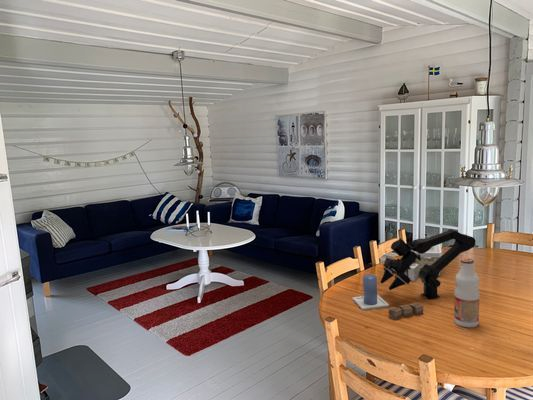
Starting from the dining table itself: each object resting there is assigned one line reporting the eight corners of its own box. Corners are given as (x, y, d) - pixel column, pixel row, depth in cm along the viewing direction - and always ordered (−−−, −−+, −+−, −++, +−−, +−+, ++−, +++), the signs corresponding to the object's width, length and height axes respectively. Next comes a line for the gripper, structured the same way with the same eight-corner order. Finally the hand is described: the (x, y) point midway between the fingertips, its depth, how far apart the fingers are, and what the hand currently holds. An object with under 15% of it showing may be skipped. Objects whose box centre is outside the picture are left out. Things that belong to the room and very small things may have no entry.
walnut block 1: (401, 317, 182) (401, 309, 181) (396, 320, 179) (396, 311, 179) (394, 314, 185) (394, 306, 184) (388, 317, 182) (388, 309, 182)
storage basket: (442, 277, 227) (442, 252, 225) (411, 275, 233) (411, 250, 231) (440, 264, 249) (440, 241, 247) (412, 263, 255) (411, 240, 253)
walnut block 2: (412, 316, 182) (412, 308, 181) (404, 318, 181) (404, 309, 180) (407, 313, 186) (407, 304, 185) (399, 314, 185) (399, 305, 184)
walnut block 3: (423, 314, 184) (423, 305, 183) (416, 316, 182) (416, 307, 182) (416, 310, 187) (416, 302, 187) (409, 312, 186) (409, 304, 185)
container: (414, 281, 224) (414, 258, 222) (400, 279, 228) (400, 256, 226) (418, 277, 230) (418, 254, 228) (405, 274, 234) (404, 253, 233)
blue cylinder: (379, 301, 198) (379, 276, 196) (372, 306, 194) (371, 280, 192) (368, 298, 203) (367, 273, 201) (361, 302, 199) (360, 277, 197)
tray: (377, 296, 206) (377, 294, 206) (389, 307, 193) (389, 304, 193) (352, 299, 204) (352, 297, 204) (362, 310, 191) (362, 308, 191)
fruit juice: (470, 330, 166) (471, 264, 162) (449, 322, 174) (450, 259, 170) (483, 323, 171) (484, 259, 167) (462, 316, 179) (463, 254, 175)
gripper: (386, 246, 206) (366, 270, 206) (403, 257, 187) (381, 282, 188) (401, 260, 208) (381, 283, 208) (420, 271, 190) (398, 296, 190)
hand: (385, 286), depth 198 cm, fingers open, 9 cm apart
